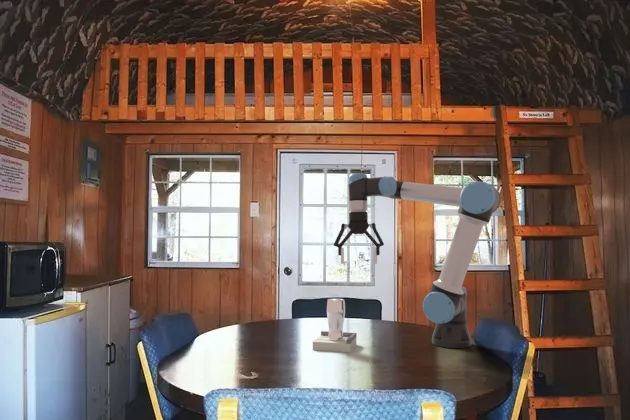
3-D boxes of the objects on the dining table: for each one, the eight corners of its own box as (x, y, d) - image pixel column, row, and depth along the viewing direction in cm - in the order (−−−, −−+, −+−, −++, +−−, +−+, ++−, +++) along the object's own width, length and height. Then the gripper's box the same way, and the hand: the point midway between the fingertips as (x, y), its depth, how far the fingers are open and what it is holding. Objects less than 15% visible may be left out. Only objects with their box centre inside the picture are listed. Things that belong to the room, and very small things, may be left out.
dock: (356, 344, 202) (356, 332, 202) (349, 352, 189) (349, 339, 189) (321, 342, 206) (321, 331, 206) (312, 349, 192) (312, 337, 192)
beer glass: (324, 339, 195) (324, 299, 196) (330, 336, 202) (330, 297, 203) (341, 341, 193) (341, 300, 194) (347, 338, 199) (347, 298, 200)
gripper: (389, 211, 213) (390, 263, 212) (329, 212, 218) (330, 263, 216) (388, 210, 205) (389, 263, 204) (326, 211, 210) (327, 264, 209)
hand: (359, 263), depth 210 cm, fingers open, 13 cm apart
